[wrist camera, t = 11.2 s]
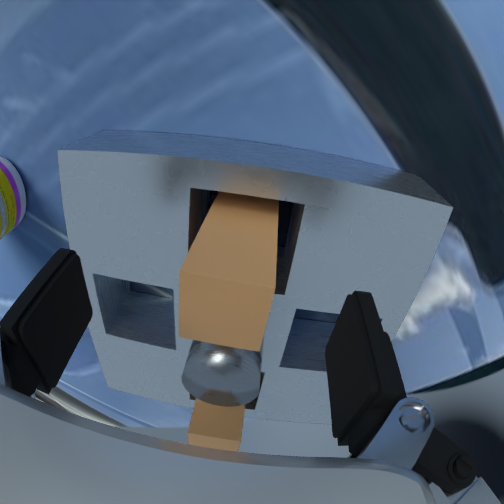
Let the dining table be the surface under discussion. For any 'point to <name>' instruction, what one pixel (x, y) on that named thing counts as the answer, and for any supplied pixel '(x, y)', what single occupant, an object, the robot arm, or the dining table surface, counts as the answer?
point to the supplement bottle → (10, 197)
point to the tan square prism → (230, 273)
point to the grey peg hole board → (287, 268)
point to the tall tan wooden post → (216, 426)
